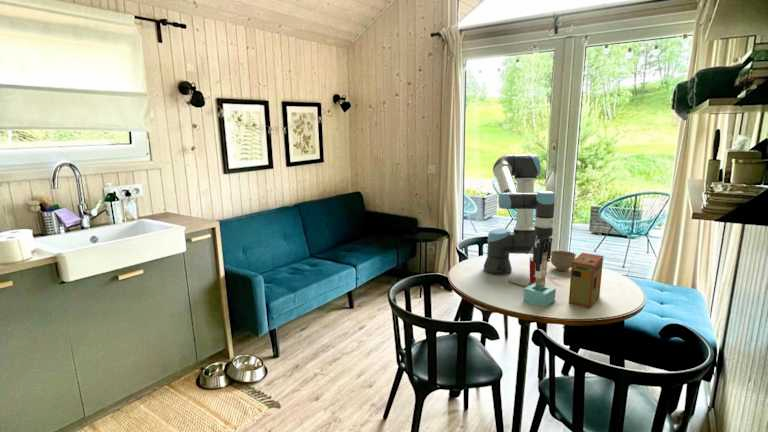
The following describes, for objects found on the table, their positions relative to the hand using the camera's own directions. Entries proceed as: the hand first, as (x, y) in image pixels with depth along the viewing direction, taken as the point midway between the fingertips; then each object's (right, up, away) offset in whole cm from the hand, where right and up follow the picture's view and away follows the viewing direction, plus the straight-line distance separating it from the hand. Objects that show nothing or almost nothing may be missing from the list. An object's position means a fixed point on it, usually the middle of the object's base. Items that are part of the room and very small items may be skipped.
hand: (540, 276), depth 185 cm
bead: (0, -12, +3) cm, 12 cm away
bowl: (+28, -3, +42) cm, 51 cm away
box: (+21, -12, +2) cm, 24 cm away
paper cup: (+7, -7, +24) cm, 26 cm away
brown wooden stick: (-4, -8, +22) cm, 23 cm away
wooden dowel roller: (0, -5, +1) cm, 5 cm away
